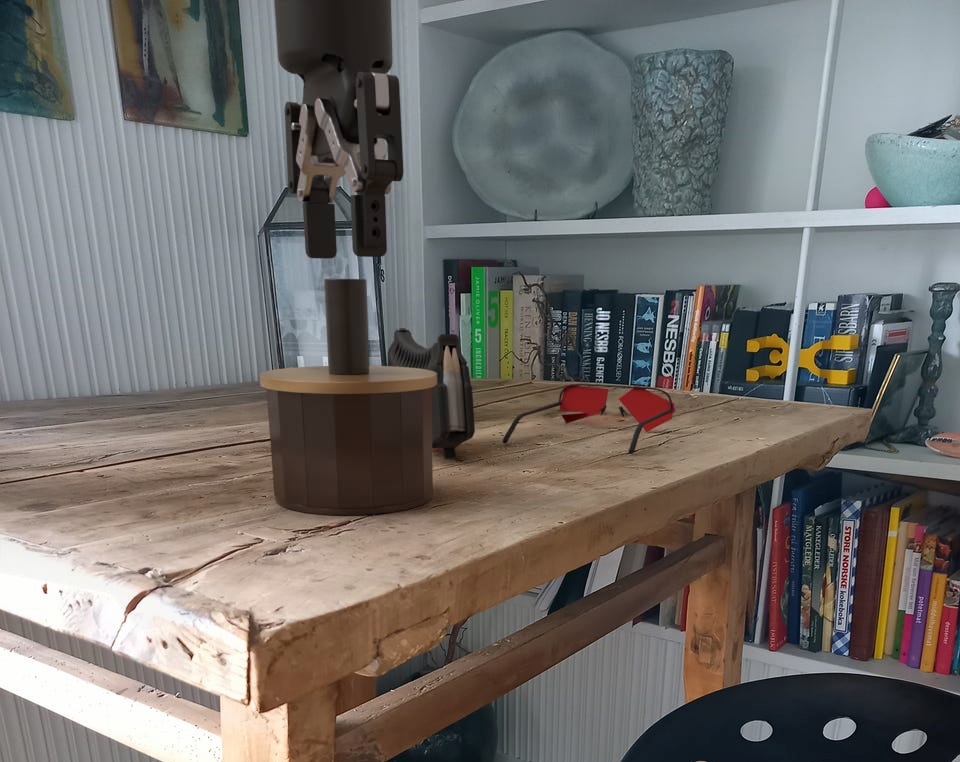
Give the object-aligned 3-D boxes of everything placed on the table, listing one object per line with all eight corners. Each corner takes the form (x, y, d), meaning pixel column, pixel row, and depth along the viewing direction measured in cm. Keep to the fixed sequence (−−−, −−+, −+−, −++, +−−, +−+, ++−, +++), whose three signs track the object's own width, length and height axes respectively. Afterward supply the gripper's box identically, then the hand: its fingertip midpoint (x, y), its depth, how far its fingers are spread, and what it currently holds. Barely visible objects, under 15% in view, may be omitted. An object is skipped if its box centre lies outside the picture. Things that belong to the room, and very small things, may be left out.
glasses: (675, 432, 104) (679, 386, 102) (632, 455, 90) (636, 402, 88) (558, 424, 110) (560, 380, 108) (501, 444, 96) (502, 394, 94)
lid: (298, 407, 61) (291, 278, 58) (237, 388, 71) (227, 278, 69) (469, 396, 67) (469, 279, 65) (390, 380, 78) (387, 279, 75)
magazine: (381, 339, 111) (429, 255, 82) (408, 339, 112) (465, 256, 83) (391, 484, 112) (442, 452, 83) (418, 483, 113) (477, 451, 84)
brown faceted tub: (310, 522, 65) (302, 396, 62) (254, 490, 74) (245, 380, 71) (460, 503, 70) (459, 388, 67) (389, 476, 80) (387, 374, 77)
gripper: (241, 4, 64) (260, 258, 70) (320, -55, 53) (335, 254, 59) (342, 19, 68) (352, 260, 74) (436, -33, 56) (439, 256, 62)
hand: (344, 257), depth 66 cm, fingers open, 8 cm apart
